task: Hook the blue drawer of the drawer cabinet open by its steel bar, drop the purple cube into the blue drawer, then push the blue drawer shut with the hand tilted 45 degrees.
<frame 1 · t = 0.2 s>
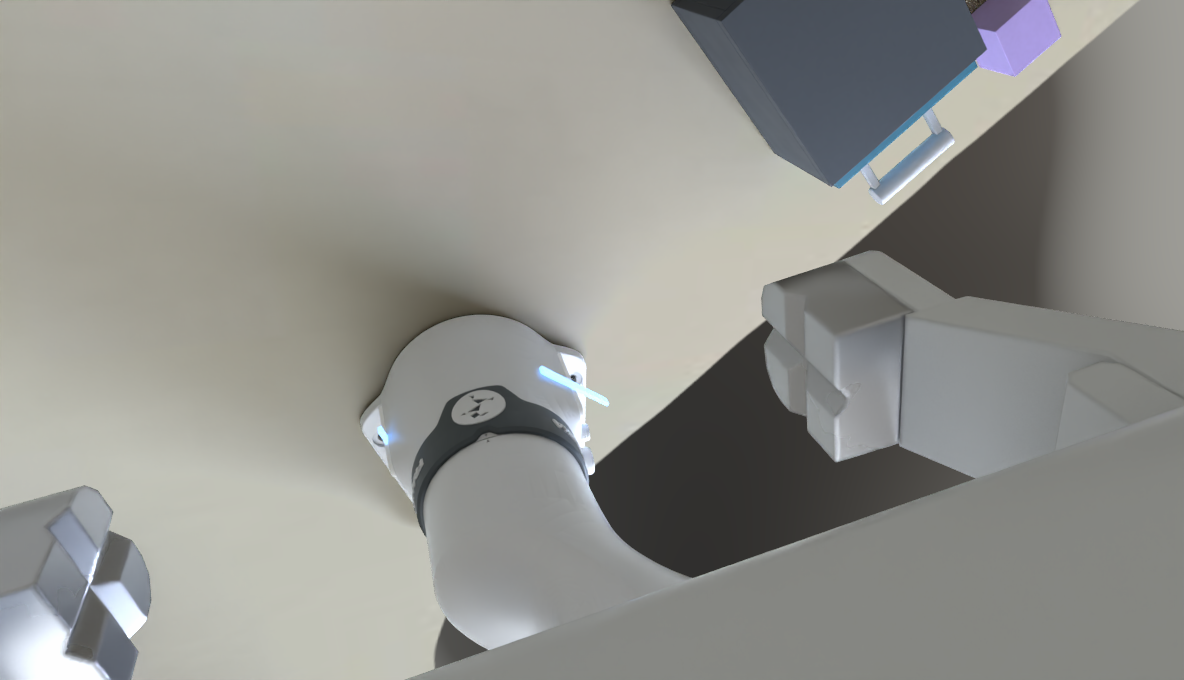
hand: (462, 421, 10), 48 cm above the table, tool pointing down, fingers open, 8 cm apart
drawer cabinet: (796, 18, 58), on the table
blue drawer: (857, 78, 57), point 4 cm above the table, slide at 0.0 cm
purple cube: (991, 26, 63), on the table
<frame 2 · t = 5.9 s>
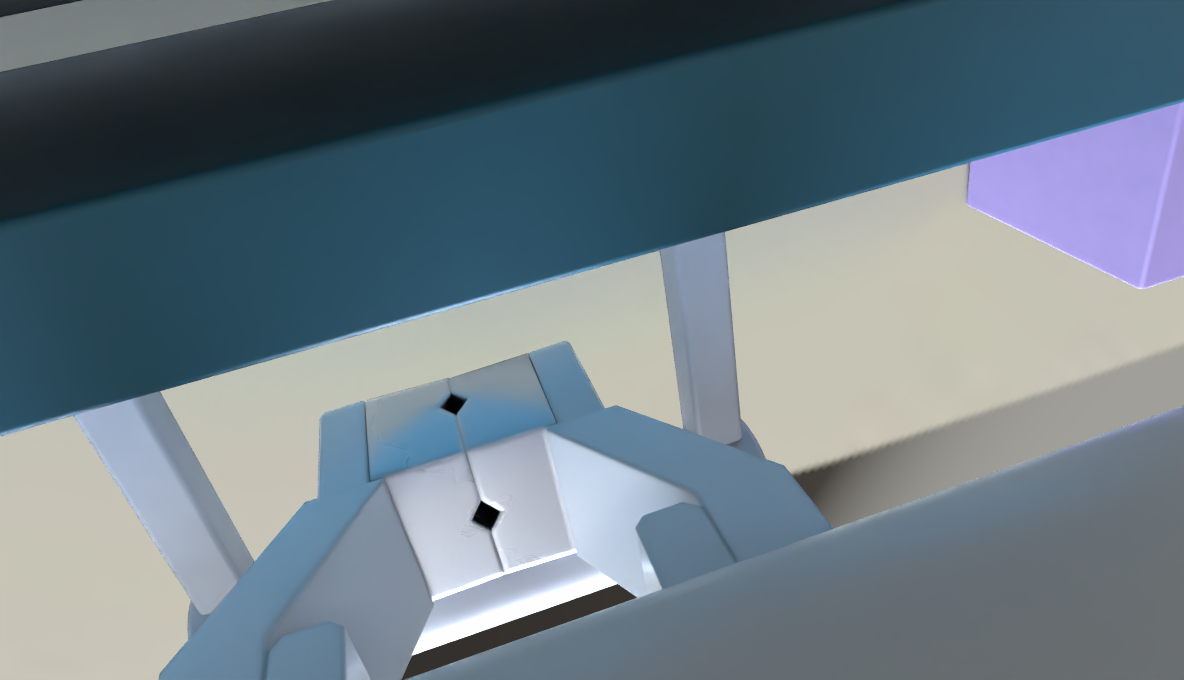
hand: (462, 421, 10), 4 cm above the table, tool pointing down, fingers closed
purple cube: (1079, 64, 15), on the table
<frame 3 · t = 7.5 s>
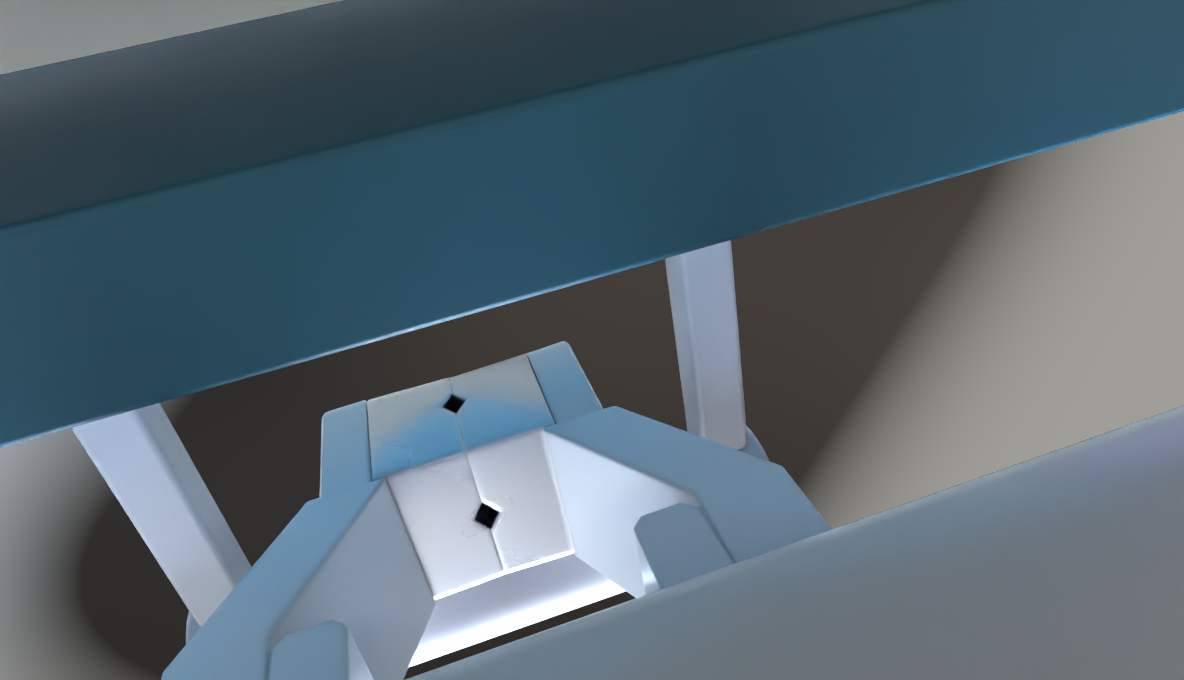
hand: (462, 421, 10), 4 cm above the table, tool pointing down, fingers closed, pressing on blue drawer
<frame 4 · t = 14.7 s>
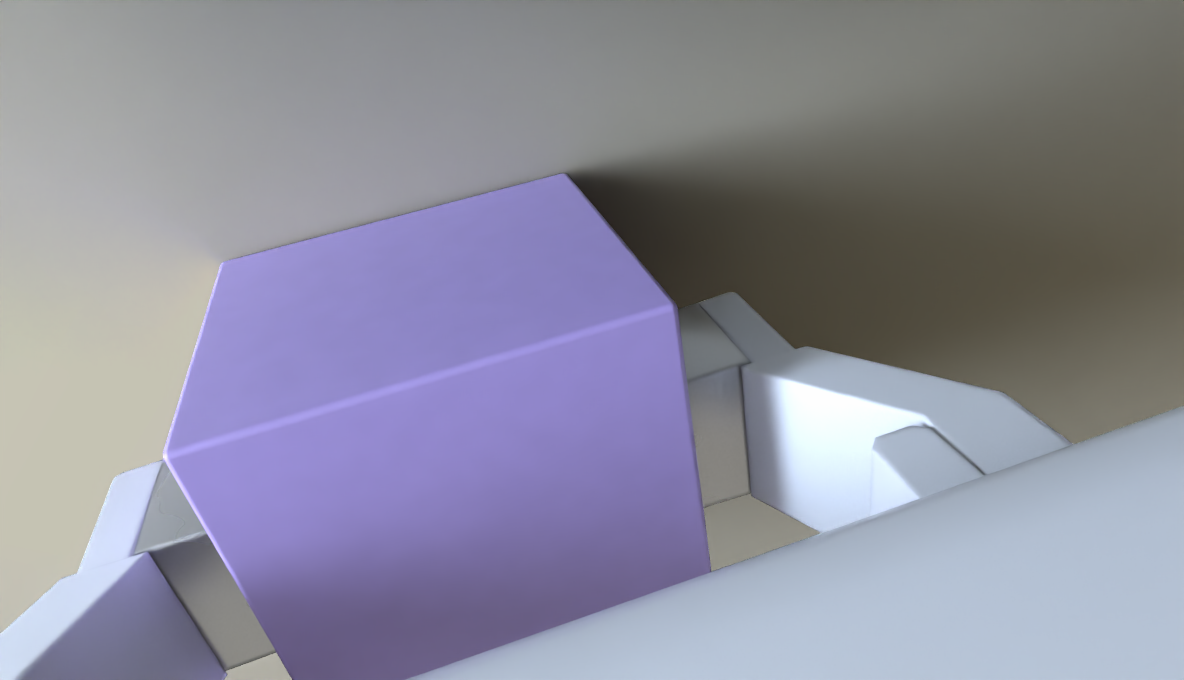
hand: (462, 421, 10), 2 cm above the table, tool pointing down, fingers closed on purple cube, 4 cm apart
purple cube: (444, 359, 11), on the table, touching gripper
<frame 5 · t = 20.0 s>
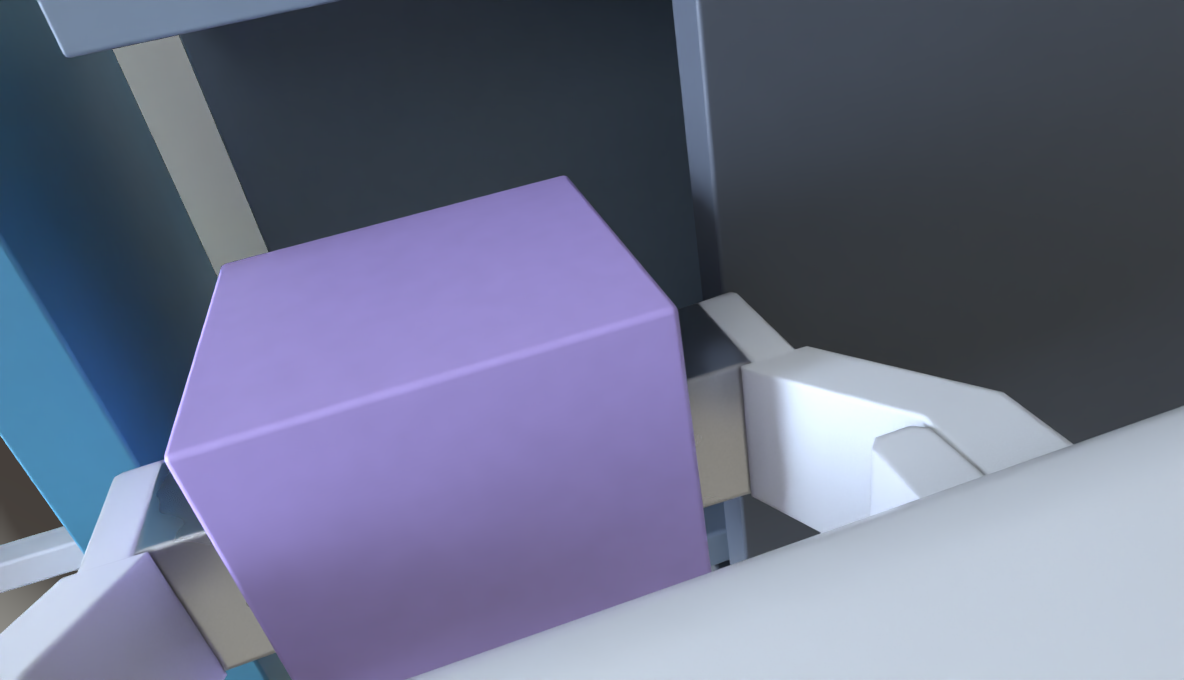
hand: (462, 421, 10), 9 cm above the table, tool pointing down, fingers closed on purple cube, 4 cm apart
drawer cabinet: (860, 80, 19), on the table
blue drawer: (345, 296, 13), point 4 cm above the table, slide at 7.6 cm
purple cube: (445, 361, 11), point 7 cm above the table, touching gripper
when the fingers open (10 cm above the table, at t = 33.5 s): purple cube drops 7 cm, resting on blue drawer.
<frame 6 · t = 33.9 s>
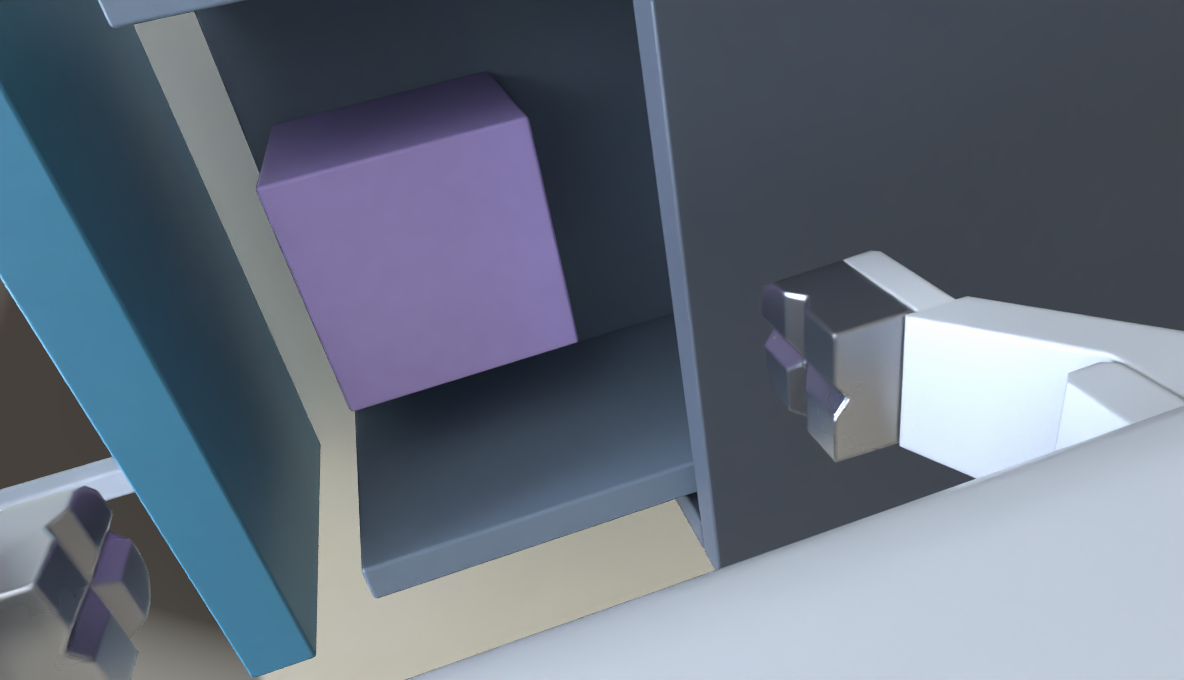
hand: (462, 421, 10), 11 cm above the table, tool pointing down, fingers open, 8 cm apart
drawer cabinet: (825, 60, 20), on the table
blue drawer: (347, 251, 15), point 4 cm above the table, slide at 7.6 cm, touching purple cube
purple cube: (414, 199, 17), point 2 cm above the table, touching blue drawer
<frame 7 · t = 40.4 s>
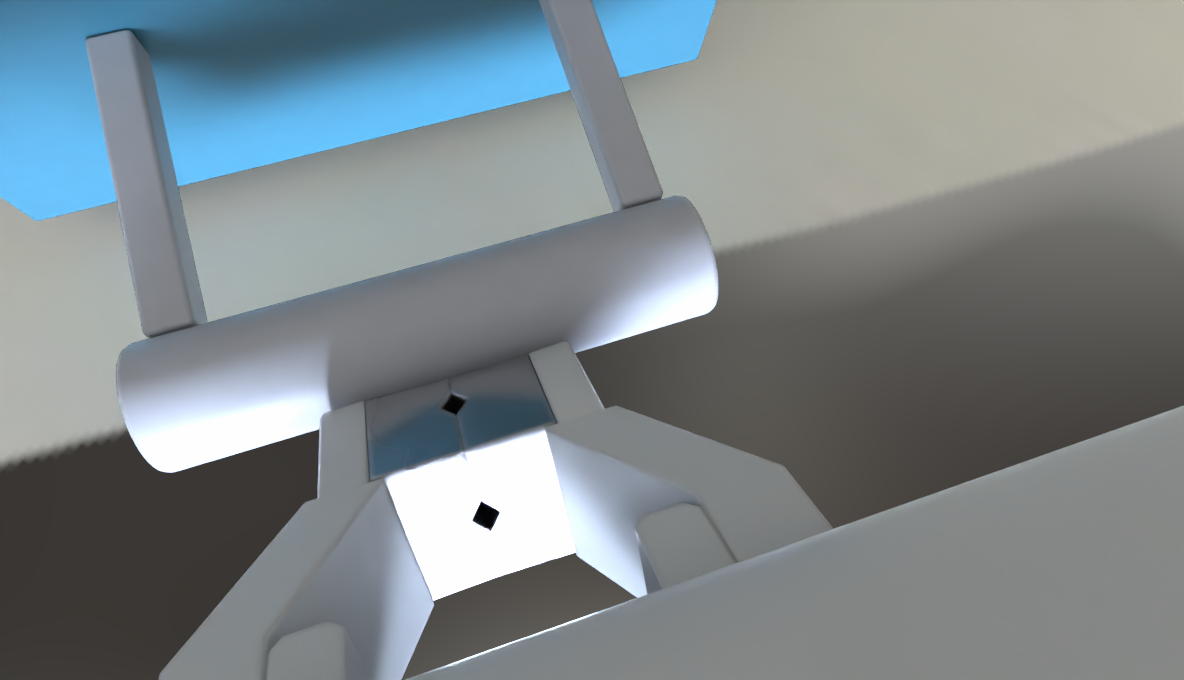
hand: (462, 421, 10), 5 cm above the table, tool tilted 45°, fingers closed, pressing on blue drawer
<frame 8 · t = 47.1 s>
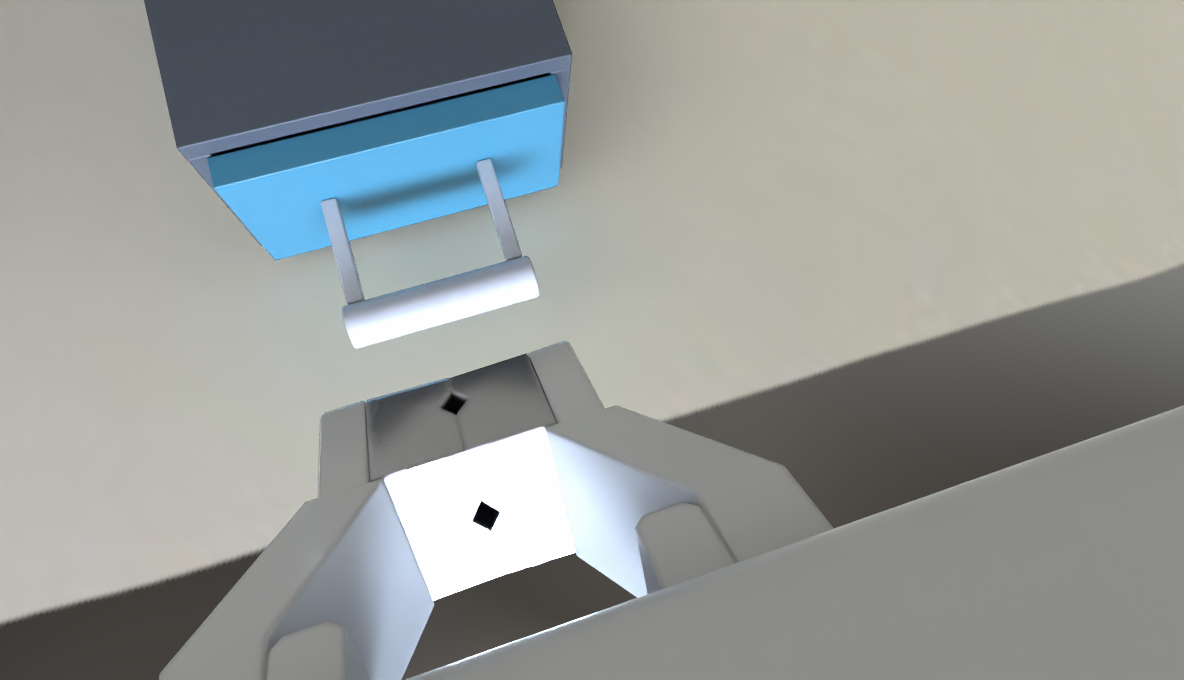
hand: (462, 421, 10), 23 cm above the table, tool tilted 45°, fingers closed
drawer cabinet: (375, 67, 37), on the table
blue drawer: (384, 102, 32), point 4 cm above the table, slide at 0.0 cm, touching purple cube, drawer cabinet
purple cube: (388, 102, 34), point 2 cm above the table, touching blue drawer
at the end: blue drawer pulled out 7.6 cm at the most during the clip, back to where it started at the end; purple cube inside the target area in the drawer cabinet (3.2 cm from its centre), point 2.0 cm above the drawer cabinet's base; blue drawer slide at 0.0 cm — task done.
